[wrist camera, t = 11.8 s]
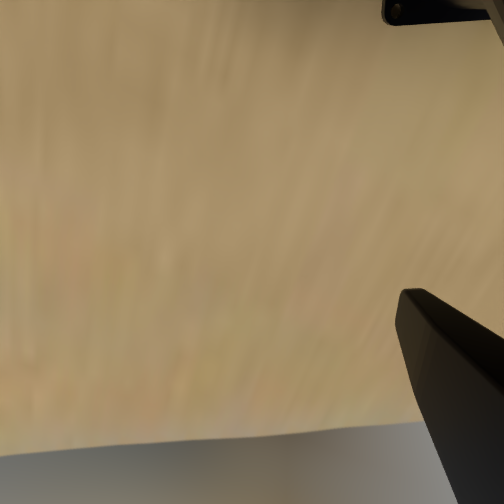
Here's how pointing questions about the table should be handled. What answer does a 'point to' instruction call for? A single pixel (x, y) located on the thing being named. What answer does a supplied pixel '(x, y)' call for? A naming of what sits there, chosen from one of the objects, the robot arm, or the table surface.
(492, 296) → the table surface
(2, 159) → the table surface
